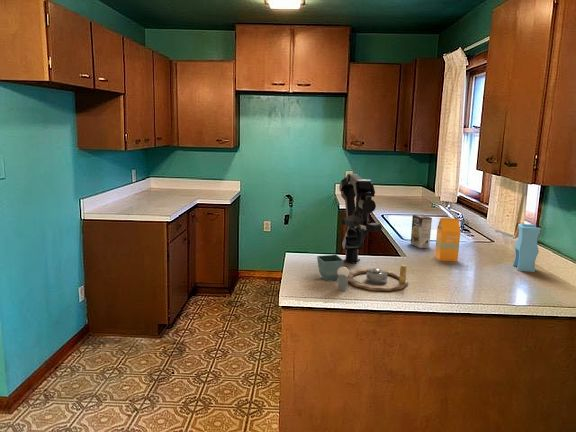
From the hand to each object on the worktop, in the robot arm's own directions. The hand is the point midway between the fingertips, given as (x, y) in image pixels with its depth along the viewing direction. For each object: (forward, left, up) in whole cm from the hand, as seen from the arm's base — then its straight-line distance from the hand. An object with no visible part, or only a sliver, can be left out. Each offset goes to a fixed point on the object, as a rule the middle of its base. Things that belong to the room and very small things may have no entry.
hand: (360, 243), depth 205 cm
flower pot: (+18, -7, -12) cm, 23 cm away
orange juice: (-38, +32, -12) cm, 51 cm away
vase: (-39, +66, -12) cm, 78 cm away
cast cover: (+11, +11, -12) cm, 20 cm away
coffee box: (-57, +16, -12) cm, 60 cm away
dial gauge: (+27, +2, -12) cm, 30 cm away
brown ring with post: (+11, +11, -12) cm, 20 cm away
